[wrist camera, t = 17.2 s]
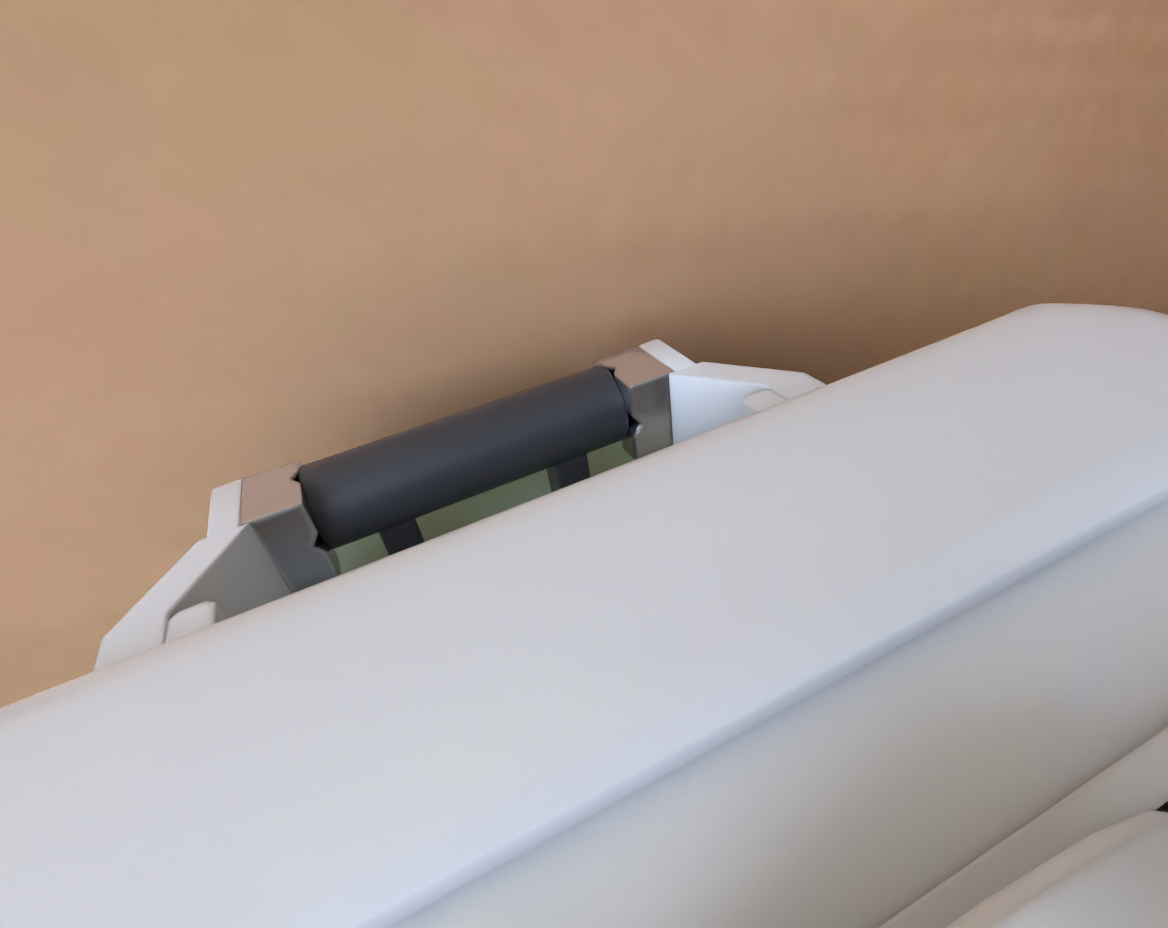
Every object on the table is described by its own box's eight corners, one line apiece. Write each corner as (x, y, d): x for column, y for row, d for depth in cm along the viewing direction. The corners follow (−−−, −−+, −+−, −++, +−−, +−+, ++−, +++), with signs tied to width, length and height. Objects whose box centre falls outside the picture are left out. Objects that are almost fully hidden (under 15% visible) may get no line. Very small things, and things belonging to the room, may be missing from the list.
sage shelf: (665, 673, 26) (764, 818, 21) (407, 801, 23) (450, 1006, 18) (625, 280, 16) (794, 377, 11) (165, 419, 13) (113, 636, 8)
